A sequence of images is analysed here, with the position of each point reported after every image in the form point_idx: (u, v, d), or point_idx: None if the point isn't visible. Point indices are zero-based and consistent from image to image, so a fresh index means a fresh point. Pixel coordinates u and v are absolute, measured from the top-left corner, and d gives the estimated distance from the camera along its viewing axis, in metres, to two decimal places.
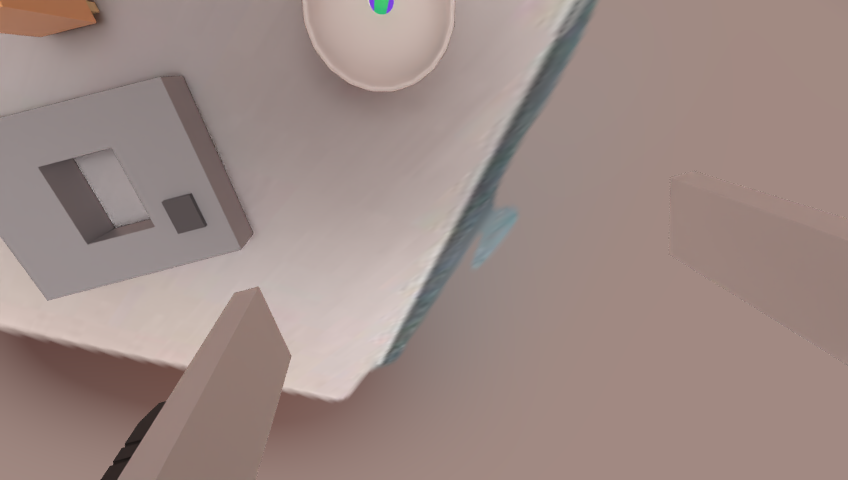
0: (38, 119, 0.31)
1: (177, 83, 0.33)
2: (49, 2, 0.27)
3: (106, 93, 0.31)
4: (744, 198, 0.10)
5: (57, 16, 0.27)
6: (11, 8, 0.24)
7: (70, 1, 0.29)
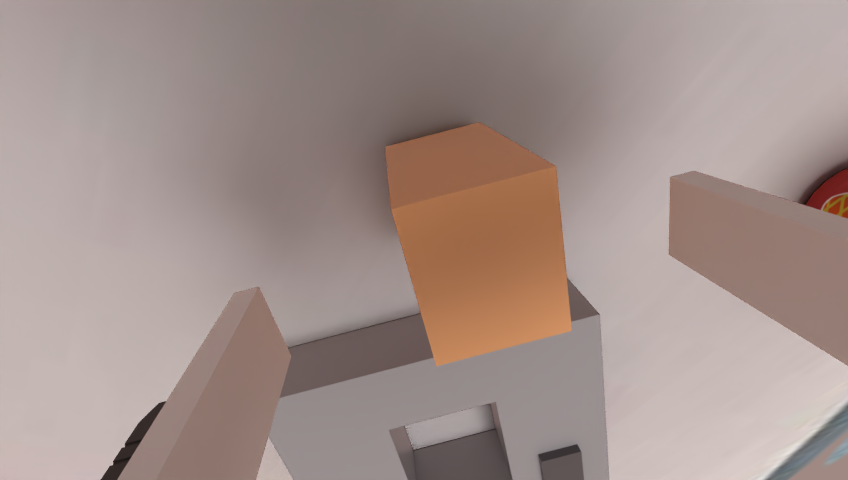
0: (411, 375, 0.20)
1: None
2: None
3: None
4: (744, 198, 0.10)
5: None
6: None
7: None
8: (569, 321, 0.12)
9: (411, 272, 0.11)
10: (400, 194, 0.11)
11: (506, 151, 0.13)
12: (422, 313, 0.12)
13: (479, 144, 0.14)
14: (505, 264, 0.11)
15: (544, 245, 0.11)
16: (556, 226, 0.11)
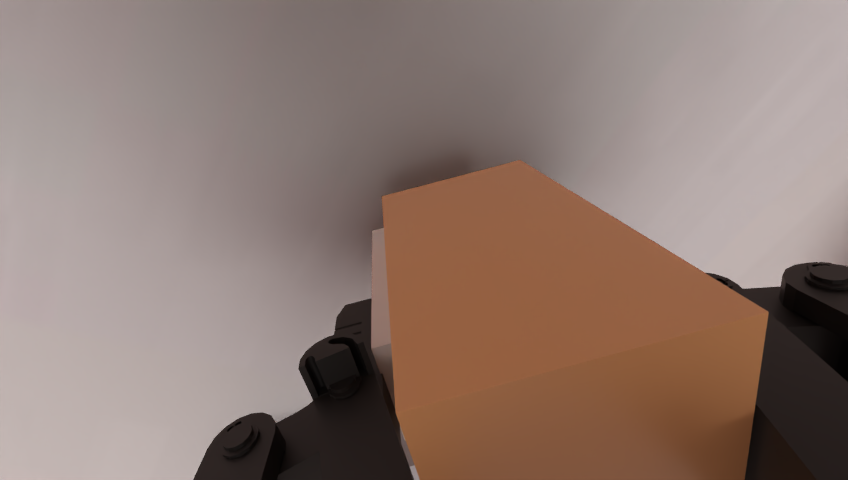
0: None
1: None
2: None
3: None
4: None
5: None
6: None
7: None
8: None
9: None
10: (414, 348, 0.05)
11: (604, 237, 0.07)
12: None
13: (539, 211, 0.09)
14: None
15: (711, 452, 0.05)
16: (742, 420, 0.05)
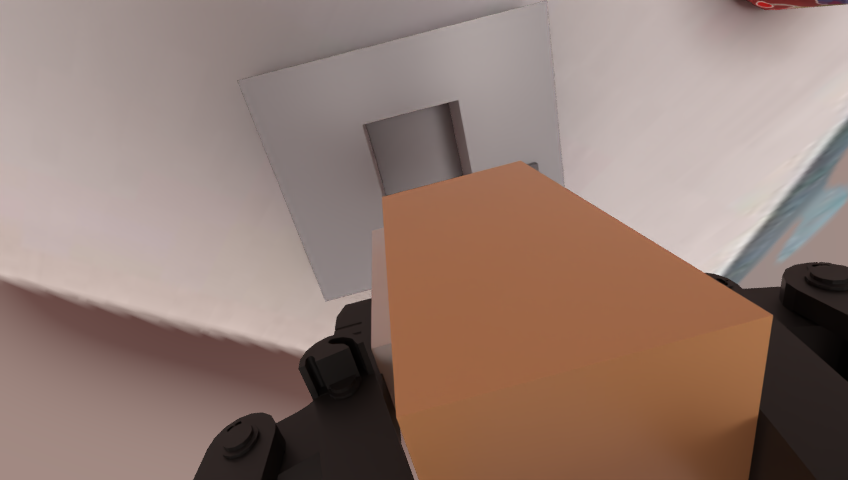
0: (381, 58, 0.23)
1: None
2: None
3: (474, 23, 0.23)
4: None
5: None
6: None
7: None
8: None
9: None
10: (415, 351, 0.05)
11: (606, 239, 0.07)
12: None
13: (540, 212, 0.08)
14: None
15: (714, 456, 0.05)
16: (746, 423, 0.05)
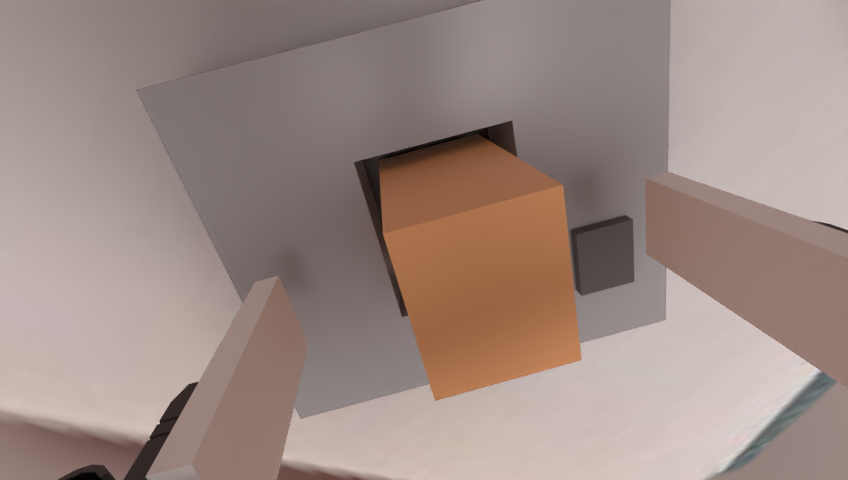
0: (386, 52, 0.13)
1: None
2: None
3: None
4: (711, 199, 0.10)
5: None
6: None
7: None
8: (578, 350, 0.11)
9: (406, 301, 0.10)
10: (394, 216, 0.10)
11: (507, 166, 0.12)
12: (419, 345, 0.11)
13: (478, 158, 0.13)
14: (509, 291, 0.10)
15: (550, 270, 0.10)
16: (564, 249, 0.10)
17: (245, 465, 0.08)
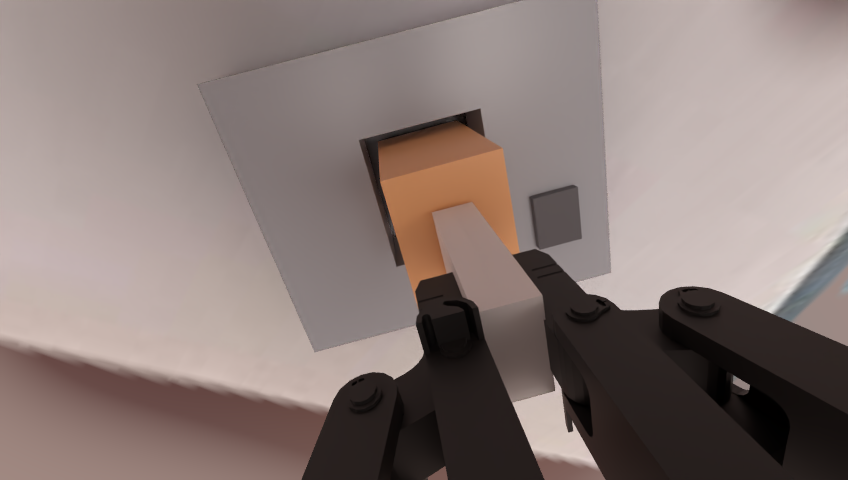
0: (383, 56, 0.18)
1: None
2: None
3: (503, 10, 0.18)
4: (472, 230, 0.12)
5: None
6: None
7: None
8: None
9: (396, 231, 0.15)
10: (388, 172, 0.15)
11: (471, 140, 0.16)
12: (406, 264, 0.15)
13: (452, 136, 0.18)
14: None
15: (497, 209, 0.15)
16: (506, 194, 0.15)
17: None
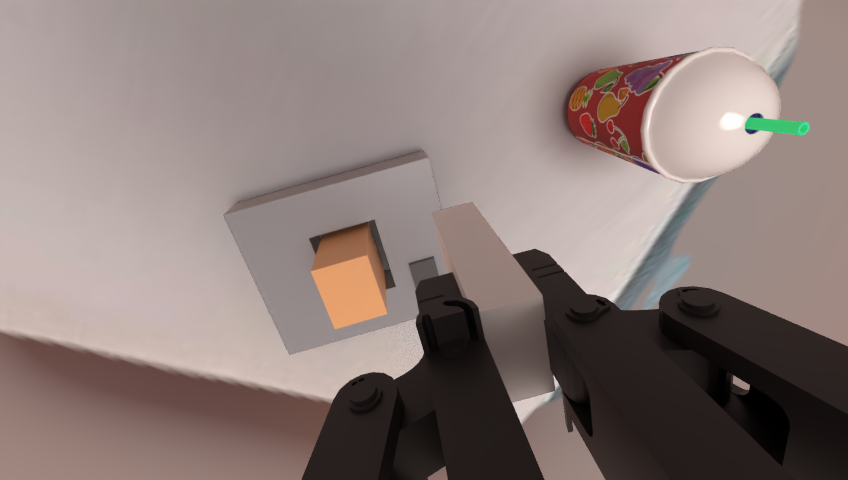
0: (319, 197, 0.34)
1: None
2: (383, 282, 0.36)
3: (380, 173, 0.34)
4: (472, 230, 0.12)
5: (384, 288, 0.36)
6: (386, 309, 0.33)
7: (381, 266, 0.38)
8: (385, 310, 0.32)
9: (320, 293, 0.31)
10: (316, 264, 0.31)
11: (361, 244, 0.33)
12: (326, 308, 0.31)
13: (356, 238, 0.34)
14: (355, 289, 0.31)
15: (368, 281, 0.31)
16: (372, 274, 0.31)
17: None
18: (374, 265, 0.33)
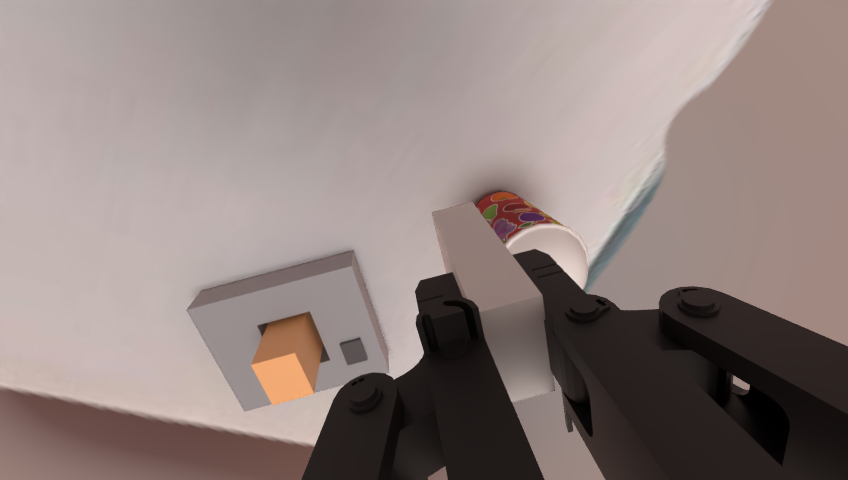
0: (263, 296, 0.43)
1: (354, 260, 0.45)
2: (316, 360, 0.45)
3: (313, 278, 0.43)
4: (472, 230, 0.12)
5: (318, 364, 0.45)
6: (314, 388, 0.42)
7: (318, 344, 0.47)
8: (312, 391, 0.41)
9: (259, 379, 0.40)
10: (256, 357, 0.40)
11: (294, 338, 0.41)
12: None
13: (293, 329, 0.43)
14: (287, 376, 0.40)
15: (297, 371, 0.40)
16: (299, 366, 0.40)
17: None
18: (305, 354, 0.42)
